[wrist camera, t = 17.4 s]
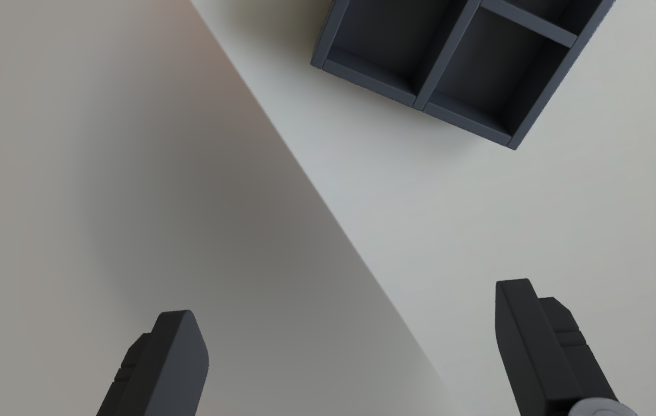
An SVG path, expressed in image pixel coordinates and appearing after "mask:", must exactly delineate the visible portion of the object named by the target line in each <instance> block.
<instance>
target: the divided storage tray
mask: <svg viewBox="0 0 656 416" xmlns="http://www.w3.org/2000/svg"><path fill="white" fill-rule="evenodd" d="M615 1H616V0H332V3H331V5H330V8H329V10H328V13H327V16H326V18H325V21H324V23H323V26H322V28H321V31H320V33H319V36H318V39H317V41H316V44H315V46H314V50H313V55H312V59H311V63H310V65H312V66H314V67H317V68H319V69H322V70H324V71H326V72H329V73H331V74H333V75H336V76H338V77H340V78H343V79H345V80H348V81H350V82H352V83H355V84H357V85H360V86H362V87H364V88H367V89H369V90H371V91H374V92H376V93H379V94H381V95H383V96H386V97H388V98H390V99H393V100H395V101H398V102H400V103H402V104H405V105H407V106H410V107H412V108H415V109H417V110H419V111H422V112H424V113H426V114H429V115H431V116H433V117H436V118H438V119H441V120H443V121H445V122H448V123H450V124H452V125H455V126H457V127H460V128H462V129H464V130H467V131H469V132H472V133H474V134H476V135H479V136H481V137H483V138H486V139H488V140H491V141H493V142H495V143H498V144H500V145H503V146H505V147H508V148H510V149H512V150H516V149H517V148H518V146H519V145H520V143H521V142H522V140H523V139H524V137H525V136H526V134H527V133H528V131H529V130H530V128H531V127H532V125H533V124H534V122H535V121H536V119H537V118H538V116H539V115H540V113H541V112H542V110H543V109H544V107H545V106H546V104H547V103H548V101H549V100H550V98H551V97H552V95H553V94H554V92H555V91H556V89H557V88H558V86H559V85H560V83H561V82H562V80H563V79H564V77H565V76H566V74H567V73H568V71H569V70H570V68H571V67H572V65H573V64H574V62H575V61H576V59H577V58H578V56H579V55H580V53H581V52H582V50H583V49H584V47H585V46H586V44H587V43H588V41H589V40H590V38H591V37H592V35H593V34H594V32H595V31H596V29H597V28H598V26H599V25H600V23H601V22H602V20H603V19H604V17H605V16H606V14H607V13H608V11H609V10H610V8H611V7H612V5H613V4H614V2H615Z"/></svg>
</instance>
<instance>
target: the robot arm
mask: <svg viewBox="0 0 656 416" xmlns="http://www.w3.org/2000/svg"><path fill="white" fill-rule="evenodd" d="M495 332H496V339H497V344H498V348H499V351H500V354H501V357H502V360H503V364H504V367H505V370H506V373H507V376H508V379H509V382H510V385H511V388H512V391H513V394H514V397H515V400H516V403H517V406H518V409H519V412H520V415H521V416H638V415H637V414H636V413H635V412H634V411H633V410H631V409H630V408H629V407H627V406H625V405H624V404H622V403H620V402H619V401H618V399H617V398H616V396H615V394H614V392H613V391H612V389H611V387H610V385H609V383H608V381H607V379H606V378H605V376H604V374H603V372H602V370H601V368H600V366H599V364H598V363H597V361H596V359H595V357H594V355H593V353H592V351H591V350H590V348H589V346H588V345H587V344H586V340H585V338H584V336H583V335H582V333H581V331H579V327H578V325H577V323H576V321H575V320H574V318H573V316H572V314H571V312H570V311H569V310H568V309H567V308H566V307H565V306H563V305H562V304H561V303H560V302H559V301H557V300H556V299H555V298H554V297H547V298H538V297H537V295H536V293H535V291H534V289H533V287H532V285H531V283H530V281H529V279H527V278H525V279H515V280H504V281H497V282H496V300H495ZM208 367H209V358H208V351H207V348H206V345H205V343H204V340H203V338H202V335H201V332H200V330H199V327H198V325H197V322H196V319H195V317H194V314H193V313H192V311H191V310H182V311H170V312H162V313H161V314H160V315H159V316H158V318H157V321H156V323H155V325H154V327H153V330H152V332H151V333H143V334H142V335H141V336H140V337H139V339H138V340H137V341H136V342H135V343H134V344H133V345H132V346H131V347H130V348H129V349H128V352H127V354H126V355H125V358H124V360H123V362H122V364H121V368H119V370H118V372H117V374H116V376H115V378H114V382H112V384H111V386H110V388H109V390H108V393H107V395H106V397H105V399H104V401H103V403H102V405H101V407H100V409H99V411H98V413H97V415H96V416H195V413H196V410H197V407H198V403H199V400H200V397H201V393H202V390H203V386H204V383H205V380H206V377H207V372H208Z"/></svg>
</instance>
